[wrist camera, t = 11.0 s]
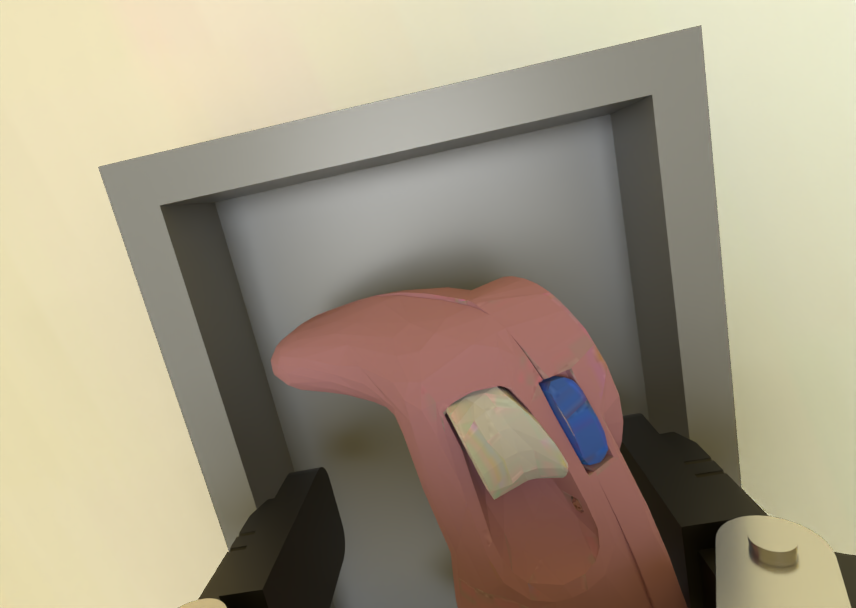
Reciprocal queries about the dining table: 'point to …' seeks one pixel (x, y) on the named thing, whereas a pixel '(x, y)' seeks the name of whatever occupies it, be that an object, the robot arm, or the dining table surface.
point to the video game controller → (500, 439)
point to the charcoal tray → (433, 272)
